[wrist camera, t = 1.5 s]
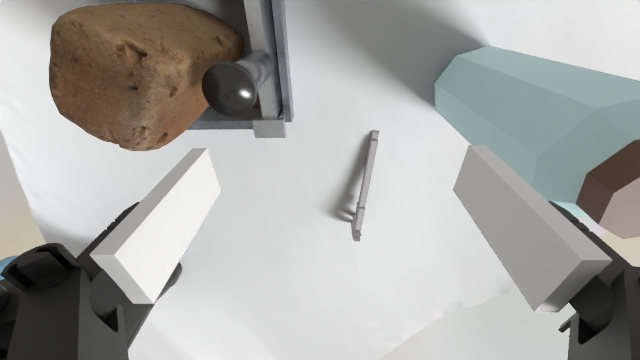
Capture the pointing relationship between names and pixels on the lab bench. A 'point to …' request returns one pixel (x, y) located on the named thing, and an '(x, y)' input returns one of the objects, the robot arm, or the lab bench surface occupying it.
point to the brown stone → (136, 69)
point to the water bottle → (552, 129)
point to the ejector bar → (250, 77)
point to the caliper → (364, 187)
